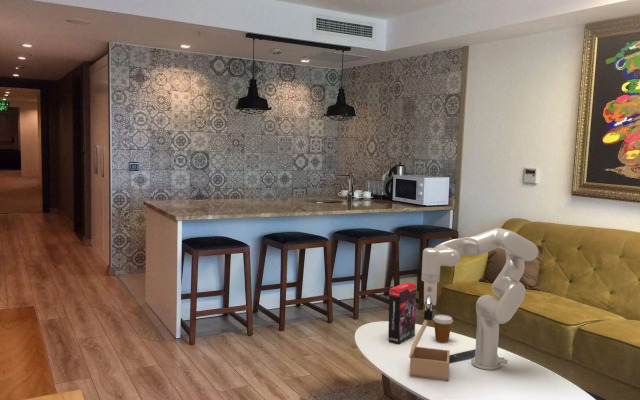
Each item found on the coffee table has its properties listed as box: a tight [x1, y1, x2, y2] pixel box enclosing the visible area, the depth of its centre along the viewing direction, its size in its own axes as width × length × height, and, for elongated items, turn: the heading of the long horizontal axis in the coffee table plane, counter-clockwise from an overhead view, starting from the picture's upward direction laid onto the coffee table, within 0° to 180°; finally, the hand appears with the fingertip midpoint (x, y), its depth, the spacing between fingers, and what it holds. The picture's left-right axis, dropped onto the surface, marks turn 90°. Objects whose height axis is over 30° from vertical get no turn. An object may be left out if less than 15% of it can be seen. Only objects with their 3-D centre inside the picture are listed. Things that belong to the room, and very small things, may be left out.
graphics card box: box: [387, 281, 417, 345], centre depth 275 cm, size 17×7×27 cm, turn 143°
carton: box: [409, 346, 451, 382], centre depth 238 cm, size 16×14×8 cm
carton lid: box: [408, 308, 436, 359], centre depth 237 cm, size 22×14×4 cm
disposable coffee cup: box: [432, 314, 454, 344], centre depth 275 cm, size 10×10×12 cm
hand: (428, 316), depth 236 cm, fingers open, 9 cm apart
